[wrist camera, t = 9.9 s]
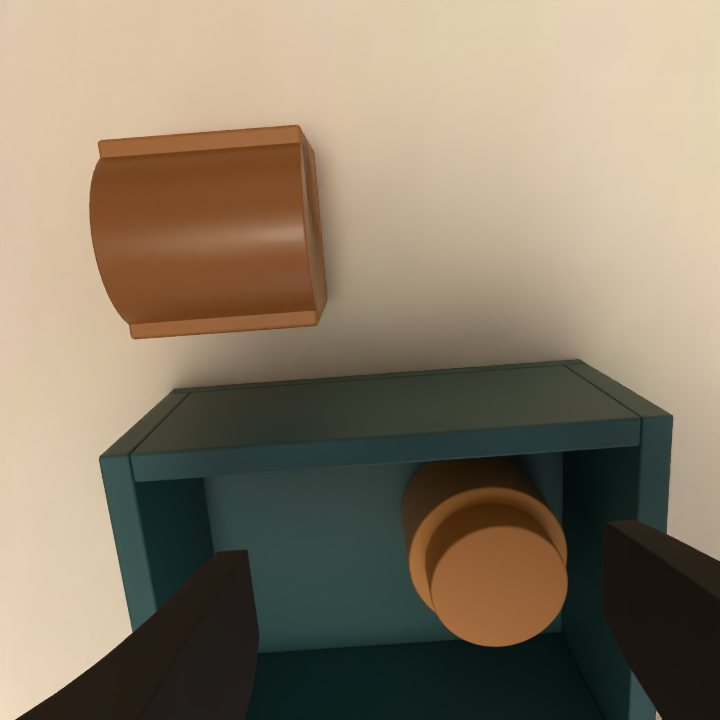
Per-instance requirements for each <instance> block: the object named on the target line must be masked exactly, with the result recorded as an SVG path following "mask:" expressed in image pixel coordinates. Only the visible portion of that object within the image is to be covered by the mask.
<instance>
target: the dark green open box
mask: <svg viewBox="0 0 720 720" xmlns="http://www.w3.org/2000/svg"><path fill="white" fill-rule="evenodd" d="M672 429H673V416H672V415H671V414H670V413H668V412H666V411H665V410H663V409H661V408H660V407H658V406H656V405H655V404H653V403H651V402H650V401H648V400H646V399H645V398H643V397H641V396H640V395H638V394H636V393H635V392H633V391H631V390H630V389H628V388H626V387H625V386H623V385H621V384H620V383H618V382H616V381H615V380H613V379H611V378H610V377H608V376H606V375H605V374H603V373H601V372H600V371H598V370H596V369H594V368H593V367H591V366H589V365H588V364H586V363H585V362H583V361H581V360H566V361H552V362H539V363H525V364H511V365H498V366H484V367H471V368H457V369H444V370H430V371H416V372H403V373H389V374H376V375H362V376H348V377H335V378H321V379H308V380H294V381H281V382H267V383H253V384H240V385H226V386H213V387H199V388H185V389H174V390H172V391H171V392H170V393H169V394H168V395H167V396H166V397H165V398H164V399H163V400H162V401H160V402H159V403H158V404H157V405H156V406H155V407H154V408H153V409H152V410H151V411H149V412H148V413H147V414H146V415H145V416H144V417H143V418H142V419H141V420H139V421H138V422H137V423H136V424H135V425H134V426H133V427H132V428H131V429H129V430H128V431H127V432H126V433H125V434H124V435H123V436H122V437H121V438H120V439H118V440H117V441H116V442H115V443H114V444H113V445H112V446H111V447H110V448H108V449H107V450H106V451H105V452H104V453H103V454H102V455H101V456H100V457H99V463H100V468H101V473H102V478H103V483H104V488H105V493H106V498H107V504H108V509H109V514H110V519H111V524H112V529H113V534H114V539H115V544H116V550H117V555H118V560H119V565H120V570H121V575H122V580H123V585H124V590H125V596H126V601H127V606H128V611H129V616H130V621H131V626H132V631H133V632H134V631H135V630H136V629H137V628H138V627H140V626H141V625H142V624H143V623H144V622H145V621H146V620H148V619H149V618H150V617H151V616H152V615H153V614H154V613H155V612H156V611H157V610H159V609H160V608H161V607H162V606H163V605H164V604H165V603H166V602H167V601H168V600H169V599H170V598H171V597H172V596H173V595H174V594H175V593H176V592H177V591H178V590H179V589H180V588H181V587H182V586H183V585H184V584H185V583H186V582H187V581H188V580H189V579H190V578H191V577H192V576H193V575H194V574H195V573H196V572H197V571H198V570H199V569H200V568H201V567H202V566H203V565H204V564H205V563H206V562H207V561H208V560H209V559H210V558H211V557H212V556H213V555H215V554H216V553H217V552H220V551H233V550H246V549H248V556H249V563H250V571H251V578H252V585H253V592H254V599H255V606H256V613H257V621H258V628H259V635H260V638H259V646H258V654H257V662H256V669H255V676H254V683H253V688H252V692H251V696H250V701H249V704H248V708H247V712H246V716H245V720H655V719H656V708H655V707H654V705H653V704H652V702H651V700H650V699H649V697H648V696H647V694H646V693H645V691H644V689H643V688H642V686H641V685H640V683H639V681H638V680H637V678H636V677H635V675H634V673H633V672H632V670H631V669H630V667H629V665H628V664H627V662H626V660H625V659H624V657H623V655H622V653H621V651H620V649H619V647H618V645H617V642H616V640H615V638H614V636H613V634H612V632H611V630H610V628H609V625H608V623H607V621H606V619H605V616H604V614H603V612H602V582H603V546H604V522H610V521H623V520H637V521H639V522H642V523H644V524H646V525H649V526H651V527H653V528H655V529H657V530H659V531H661V532H663V533H665V534H666V531H667V514H668V497H669V480H670V463H671V446H672ZM492 456H507V457H508V458H510V459H511V460H513V461H514V462H516V463H517V464H518V465H519V466H520V467H521V468H522V469H523V470H524V472H525V473H526V474H527V475H528V477H529V478H530V480H531V481H532V483H533V484H534V486H535V487H536V488H537V490H538V491H539V493H540V494H541V496H542V497H543V499H544V500H545V502H546V503H547V504H548V506H549V507H550V509H551V510H552V512H553V513H554V515H555V516H556V518H557V519H558V521H559V523H560V525H561V526H562V529H563V532H564V534H565V538H566V543H567V563H566V570H567V575H568V587H567V594H566V598H565V601H564V604H563V606H562V608H561V610H560V612H559V614H558V615H557V616H556V618H555V619H554V620H553V621H552V622H551V623H550V624H549V626H548V627H546V628H545V629H544V630H543V631H541V632H540V633H538V634H537V635H535V636H534V637H532V638H530V639H528V640H526V641H523V642H520V643H517V644H513V645H508V646H499V647H491V646H482V645H478V644H474V643H471V642H468V641H466V640H464V639H462V638H460V637H458V636H457V635H455V634H454V633H452V632H451V631H450V630H449V629H448V628H446V626H445V625H444V624H443V623H442V622H441V621H440V619H439V617H438V616H437V614H436V613H435V612H434V611H433V610H432V609H431V608H429V607H428V606H427V605H426V604H425V602H424V601H423V600H422V599H421V598H420V596H419V595H418V593H417V591H416V590H415V587H414V585H413V583H412V580H411V576H410V572H409V566H408V559H407V553H406V546H405V540H404V534H403V527H402V520H401V505H402V499H403V496H404V493H405V490H406V488H407V486H408V484H409V482H410V481H411V479H412V478H413V476H414V475H415V474H416V473H417V472H418V470H419V469H421V468H422V467H423V466H424V465H425V464H426V463H428V462H429V461H437V460H451V459H464V458H478V457H492Z"/></svg>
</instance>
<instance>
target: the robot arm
mask: <svg viewBox="0 0 720 720" xmlns="http://www.w3.org/2000/svg"><path fill="white" fill-rule="evenodd" d="M602 612H603V614H604V616H605V619H606V621H607V623H608V625H609V628H610V630H611V632H612V634H613V636H614V638H615V640H616V642H617V645H618V647H619V649H620V651H621V653H622V655H623V657H624V659H625V660H626V662H627V664H628V665H629V667H630V669H631V670H632V672H633V673H634V675H635V677H636V678H637V680H638V681H639V683H640V685H641V686H642V688H643V689H644V691H645V693H646V694H647V696H648V697H649V699H650V700H651V702H652V704H653V705H654V707H655V708H656V710H657V711H658V713H659V715H660V716H661V718H662V719H663V720H720V561H718V560H716V559H714V558H712V557H710V556H708V555H706V554H704V553H702V552H700V551H698V550H696V549H694V548H692V547H691V546H689V545H687V544H685V543H683V542H681V541H679V540H677V539H675V538H673V537H671V536H669V535H667V534H665V533H663V532H661V531H659V530H657V529H655V528H653V527H651V526H649V525H646V524H644V523H642V522H639V521H637V520H623V521H610V522H604V546H603V582H602ZM259 638H260V635H259V628H258V621H257V613H256V606H255V599H254V592H253V585H252V578H251V571H250V563H249V556H248V549H246V550H233V551H220V552H217V553H216V554H215V555H213V556H212V557H211V558H210V559H209V560H208V561H207V562H206V563H205V564H204V565H203V566H202V567H201V568H200V569H199V570H198V571H197V572H196V573H195V574H194V575H193V576H192V577H191V578H190V579H189V580H188V581H187V582H186V583H185V584H184V585H183V586H182V587H181V588H180V589H179V590H178V591H177V592H176V593H175V594H174V595H173V596H172V597H171V598H170V599H169V600H168V601H167V602H166V603H165V604H164V605H163V606H162V607H161V608H160V609H159V610H157V611H156V612H155V613H154V614H153V615H152V616H151V617H150V618H149V619H148V620H146V621H145V622H144V623H143V624H142V625H141V626H140V627H138V628H137V629H136V630H135V631H134V632H133V633H132V634H131V635H129V636H128V637H127V638H126V639H125V640H124V641H123V642H122V643H120V644H119V645H118V646H117V647H116V648H115V649H113V650H112V651H111V652H110V653H109V654H107V655H106V656H105V657H104V658H102V659H101V660H100V661H98V662H97V663H96V664H95V665H93V666H92V667H91V668H89V669H88V670H87V671H85V672H84V673H83V674H81V675H80V676H79V677H77V678H76V679H75V680H73V681H72V682H71V683H69V684H68V685H67V686H65V687H64V688H62V689H61V690H60V691H58V692H57V693H55V694H54V695H52V696H51V697H49V698H48V699H46V700H45V701H43V702H42V703H40V704H39V705H37V706H35V707H34V708H32V709H31V710H29V711H28V712H26V713H25V714H23V715H22V716H20V717H19V718H17V719H16V720H245V716H246V712H247V708H248V704H249V701H250V696H251V692H252V688H253V683H254V676H255V669H256V662H257V654H258V646H259Z"/></svg>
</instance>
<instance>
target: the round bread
mask: <svg viewBox="0 0 720 720" xmlns="http://www.w3.org/2000/svg"><path fill="white" fill-rule="evenodd" d="M401 520H402V527H403V534H404V540H405V546H406V553H407V559H408V566H409V572H410V576H411V580H412V583H413V585H414V587H415V590H416V591H417V593H418V595H419V596H420V598H421V599H422V600H423V601H424V602H425V604H426V605H427V606H428V607H429V608H431V609H432V610H433V611H434V612H435V613H436V614H437V616H438V617H439V619H440V621H441V622H442V623H443V624H444V625H445V626H446V628H448V629H449V630H450V631H451V632H452V633H454V634H455V635H457V636H458V637H460V638H462V639H464V640H466V641H468V642H471V643H474V644H478V645H482V646H491V647H499V646H508V645H513V644H517V643H520V642H523V641H526V640H528V639H530V638H532V637H534V636H535V635H537V634H538V633H540V632H541V631H543V630H544V629H545V628H546V627H548V626H549V624H550V623H551V622H552V621H553V620H554V619H555V618H556V616H557V615H558V614H559V612H560V610H561V608H562V606H563V604H564V601H565V598H566V594H567V587H568V575H567V570H566V563H567V543H566V538H565V534H564V532H563V529H562V526H561V525H560V523H559V521H558V519H557V518H556V516H555V515H554V513H553V512H552V510H551V509H550V507H549V506H548V504H547V503H546V502H545V500H544V499H543V497H542V496H541V494H540V493H539V491H538V490H537V488H536V487H535V486H534V484H533V483H532V481H531V480H530V478H529V477H528V475H527V474H526V473H525V472H524V470H523V469H522V468H521V467H520V466H519V465H518V464H517V463H516V462H514V461H513V460H511V459H510V458H508V457H507V456H492V457H478V458H464V459H451V460H437V461H429V462H428V463H426V464H425V465H424V466H423V467H422V468H421V469H419V470H418V472H417V473H416V474H415V475H414V476H413V478H412V479H411V481H410V482H409V484H408V486H407V488H406V490H405V493H404V496H403V499H402V505H401Z"/></svg>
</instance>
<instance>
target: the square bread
mask: <svg viewBox="0 0 720 720" xmlns="http://www.w3.org/2000/svg"><path fill="white" fill-rule="evenodd" d="M98 147H99V153H100V159H99V161H98V162H97V164H96V167H95V170H94V172H93V177H92V181H91V189H90V204H89V209H90V226H91V235H92V242H93V248H94V252H95V257H96V261H97V265H98V269H99V272H100V275H101V278H102V281H103V284H104V286H105V289H106V291H107V294H108V296H109V298H110V300H111V302H112V304H113V306H114V307H115V309H116V310H117V312H118V313H119V315H120V316H121V317H122V318H123V320H124V321H125V322H127V323H128V324H129V327H130V333H131V337H132V339H146V338H159V337H173V336H186V335H200V334H213V333H227V332H240V331H253V330H267V329H280V328H294V327H307V326H316V325H318V322H319V320H320V317H321V315H322V312H323V309H324V307H325V304H326V301H327V294H326V283H325V271H324V260H323V249H322V237H321V226H320V215H319V203H318V192H317V180H316V169H315V158H314V151H313V149H312V148H311V146H310V144H309V142H308V141H307V139H306V137H305V135H304V134H303V132H302V130H301V128H300V126H298V125H289V126H276V127H263V128H250V129H237V130H225V131H212V132H199V133H186V134H173V135H160V136H148V137H135V138H122V139H109V140H101V141H99V142H98Z"/></svg>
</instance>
